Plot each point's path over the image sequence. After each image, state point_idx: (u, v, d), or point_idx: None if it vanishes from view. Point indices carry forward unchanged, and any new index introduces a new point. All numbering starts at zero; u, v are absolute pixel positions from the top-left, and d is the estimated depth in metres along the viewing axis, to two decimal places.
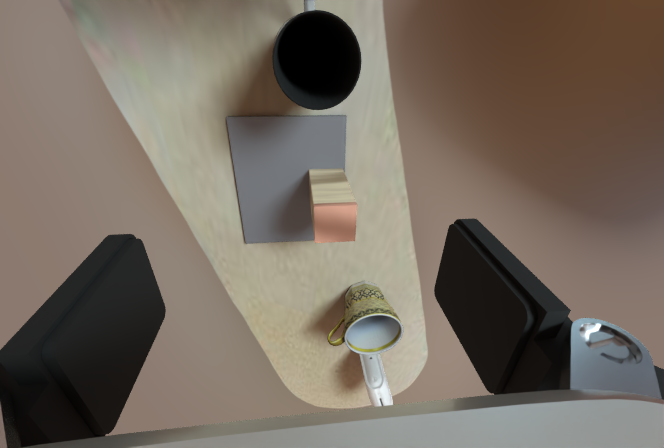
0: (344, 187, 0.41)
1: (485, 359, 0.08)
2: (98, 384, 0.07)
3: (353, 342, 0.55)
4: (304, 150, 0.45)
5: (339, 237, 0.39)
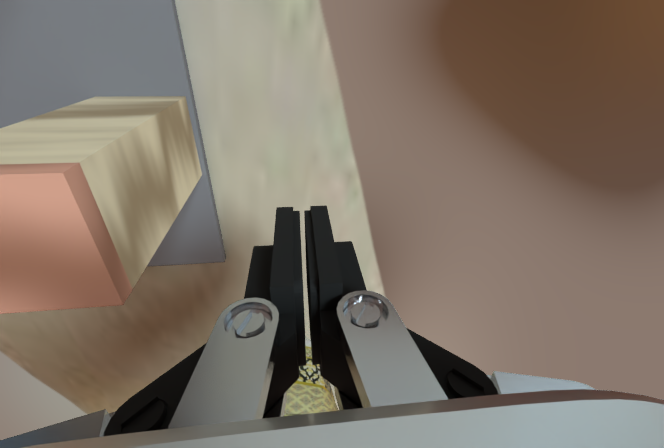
0: (121, 125, 0.13)
1: None
2: None
3: None
4: (63, 41, 0.17)
5: (55, 295, 0.11)
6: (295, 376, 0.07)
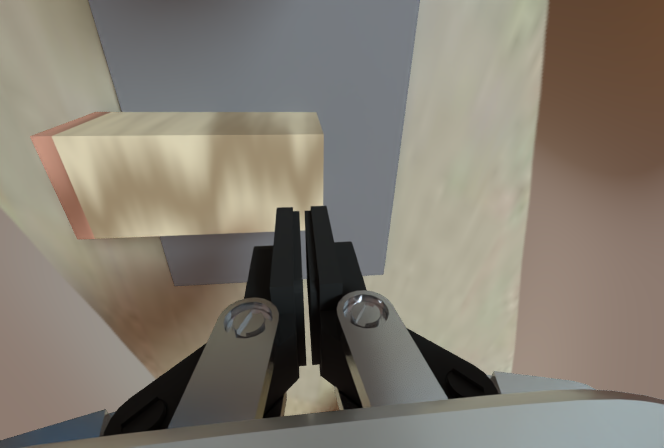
0: (168, 131, 0.14)
1: None
2: None
3: None
4: (305, 58, 0.17)
5: None
6: (295, 376, 0.07)
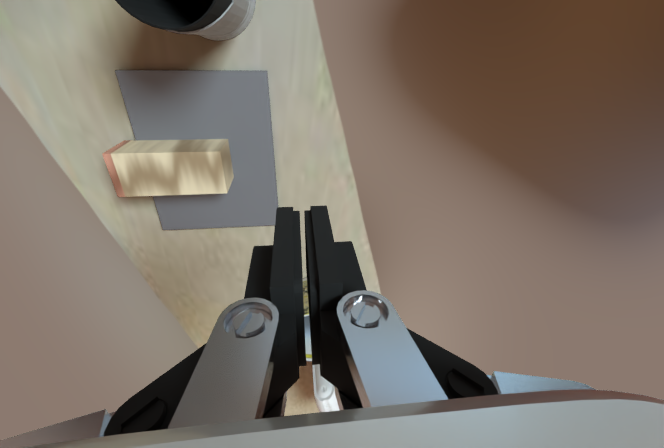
0: (156, 150, 0.34)
1: None
2: None
3: None
4: (219, 115, 0.37)
5: None
6: (295, 376, 0.07)
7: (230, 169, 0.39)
